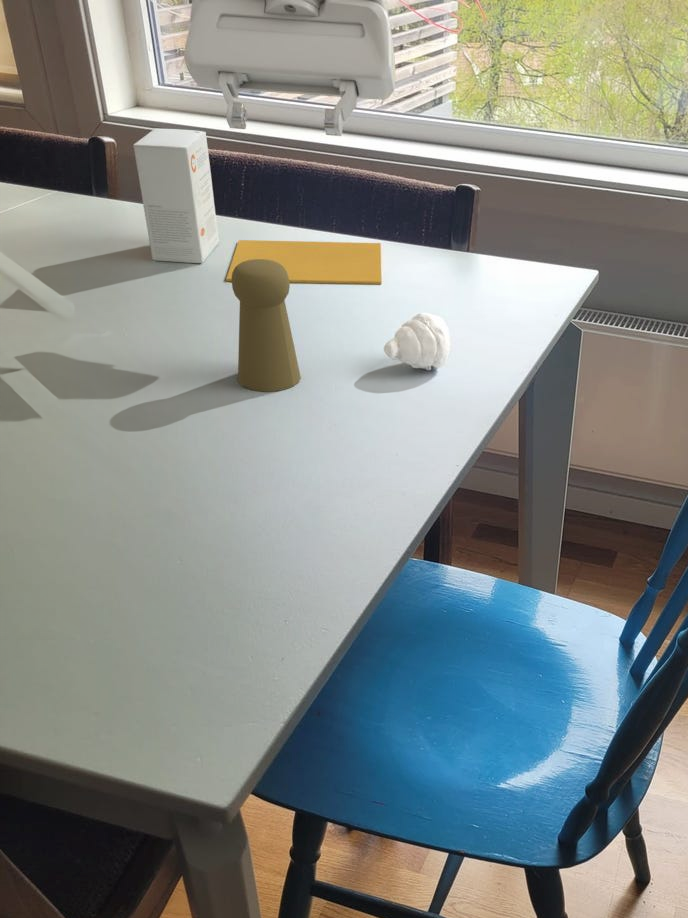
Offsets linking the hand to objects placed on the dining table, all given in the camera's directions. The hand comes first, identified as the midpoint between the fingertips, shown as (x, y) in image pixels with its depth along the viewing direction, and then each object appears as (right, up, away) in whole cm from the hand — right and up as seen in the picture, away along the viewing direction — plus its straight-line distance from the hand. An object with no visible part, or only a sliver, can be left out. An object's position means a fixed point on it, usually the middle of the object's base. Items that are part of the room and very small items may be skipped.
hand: (284, 128), depth 96 cm
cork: (-2, -24, +1) cm, 24 cm away
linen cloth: (-2, -3, +26) cm, 26 cm away
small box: (-18, -1, +27) cm, 32 cm away
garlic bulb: (+12, -23, +4) cm, 26 cm away
